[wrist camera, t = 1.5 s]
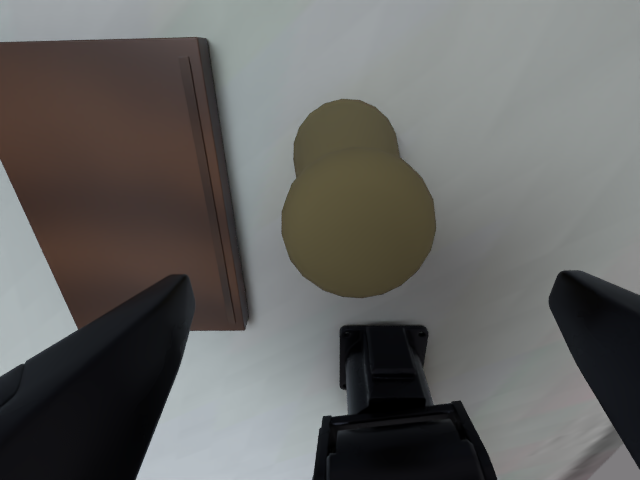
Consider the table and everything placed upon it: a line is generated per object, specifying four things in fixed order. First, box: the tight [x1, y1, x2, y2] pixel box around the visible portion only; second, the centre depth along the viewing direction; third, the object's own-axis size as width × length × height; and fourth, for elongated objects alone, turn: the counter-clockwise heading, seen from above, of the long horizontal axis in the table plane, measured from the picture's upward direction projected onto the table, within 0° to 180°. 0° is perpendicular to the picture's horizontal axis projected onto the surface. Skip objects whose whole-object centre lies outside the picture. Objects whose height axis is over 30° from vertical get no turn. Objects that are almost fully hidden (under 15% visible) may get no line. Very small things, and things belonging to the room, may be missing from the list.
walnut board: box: [0, 37, 249, 331], centre depth 21 cm, size 18×12×2 cm, turn 1°
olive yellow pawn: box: [282, 99, 436, 298], centre depth 15 cm, size 6×6×11 cm
